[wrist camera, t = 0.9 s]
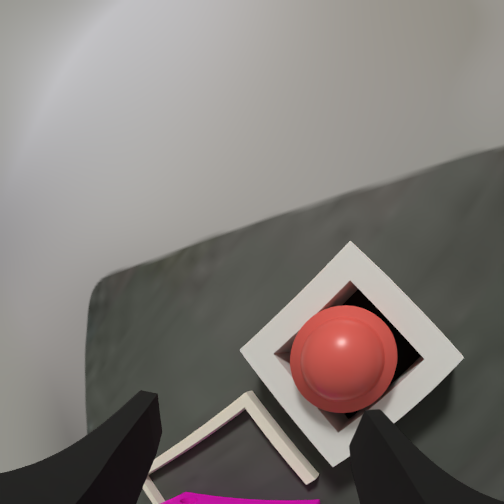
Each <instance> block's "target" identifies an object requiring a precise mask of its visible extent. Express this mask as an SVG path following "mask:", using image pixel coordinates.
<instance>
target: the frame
mask: <svg viewBox="0 0 504 504" xmlns="http://www.w3.org/2000/svg"><path fill="white" fill-rule="evenodd" d="M245 409H246V410H247V412H248V413H249V414H250V416H251V417H252V418H253V420H254V421H255V422H256V424H257V425H258V426H259V427H260V429H261V430H262V431H263V433H264V434H265V435H266V437H267V438H268V439H269V440H270V442H271V443H272V444H273V445H274V447H275V448H276V449H277V450H278V452H279V453H280V454H281V455H282V457H283V458H284V459H285V460H286V462H287V463H288V464H289V465H290V466H291V468H292V469H293V470H294V471H295V472H296V473H297V475H298V476H299V477H300V478H301V479H302V481H303V482H304V483H305V484H306V485H307V484H309V483H310V482H312V481H314V480H315V479H316V478H317V477H318V476H319V473H318V472H317V471H316V470H315V469H314V467H313V466H312V465H311V464H310V463H309V461H308V460H307V459H306V458H305V457H304V456H303V454H302V453H301V452H300V451H299V450H298V448H297V447H296V446H295V445H294V443H293V442H292V441H291V440H290V439H289V437H288V436H287V435H286V434H285V432H284V431H283V430H282V429H281V427H280V426H279V425H278V424H277V422H276V421H275V420H274V418H273V417H272V416H271V415H270V413H269V412H268V411H267V409H266V408H265V407H264V406H263V404H262V403H261V402H260V400H259V399H258V398H257V396H256V395H255V394H254V392H253V391H249V392H245V393H244V394H243V395H242V396H241V397H239V398H238V399H237V400H235V401H234V402H233V403H232V404H230V405H229V406H228V407H227V408H225V409H224V410H223V411H221V412H220V413H219V414H218V415H216V416H215V417H214V418H212V419H211V420H210V421H208V422H207V423H206V424H204V425H203V426H202V427H200V428H199V429H197V430H196V431H195V432H193V433H192V434H191V435H189V436H188V437H186V438H185V439H183V440H182V441H181V442H179V443H178V444H176V445H175V446H173V447H172V448H171V449H169V450H168V451H166V452H165V453H163V454H162V455H160V456H159V457H157V458H156V459H154V461H153V464H152V466H151V468H150V471H149V473H148V476H147V478H146V481H145V483H144V485H143V489H144V491H145V493H146V494H147V496H148V497H149V499H150V500H151V502H152V503H153V504H161V503H163V502H165V500H164V498H163V497H162V495H161V494H160V492H159V491H158V489H157V488H156V486H155V485H154V483H153V482H152V480H151V479H150V477H149V474H151V473H153V472H154V471H156V470H158V469H159V468H161V467H163V466H164V465H166V464H167V463H169V462H171V461H172V460H174V459H175V458H177V457H178V456H180V455H182V454H183V453H185V452H186V451H188V450H189V449H191V448H192V447H194V446H195V445H197V444H198V443H200V442H201V441H203V440H204V439H205V438H207V437H208V436H210V435H211V434H213V433H214V432H215V431H217V430H218V429H220V428H221V427H222V426H224V425H225V424H227V423H228V422H229V421H231V420H232V419H233V418H235V417H236V416H237V415H239V414H240V413H241V412H243V411H244V410H245Z"/></svg>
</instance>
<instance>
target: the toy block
mask: <svg viewBox="0 0 504 504" xmlns="http://www.w3.org/2000/svg"><path fill="white" fill-rule="evenodd" d="M161 504H320V500H254V499H239V498H228V497H219V496H211V495H203V494H196V493H190V492H185V493H182V494H180V495H178V496H176V497H174V498H172V499H170V500H167V501H165V502H163V503H161Z"/></svg>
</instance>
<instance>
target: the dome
mask: <svg viewBox="0 0 504 504" xmlns="http://www.w3.org/2000/svg"><path fill="white" fill-rule="evenodd" d="M397 359H398V350H397V344H396V340H395V338H394V335H393V333H392V331H391V330H390V328H389V327H388V326H387V324H386V323H385V322H384V321H383V320H382V319H380V318H379V317H378V316H376V315H375V314H373V313H372V312H370V311H368V310H366V309H363V308H360V307H356V306H348V305H342V306H335V307H330V308H327V309H325V310H323V311H320V312H318V313H317V314H315V315H314V316H312V317H311V318H310V319H309V320H308V321H307V322H306V323H305V324H304V325H303V326H302V327H301V329H300V330H299V332H298V334H297V335H296V337H295V340H294V342H293V345H292V349H291V354H290V369H291V374H292V378H293V380H294V383H295V385H296V387H297V389H298V390H299V392H300V393H301V394H302V395H303V397H304V398H305V399H306V400H308V401H309V402H310V403H311V404H313V405H314V406H316V407H318V408H320V409H322V410H325V411H329V412H334V413H349V412H354V411H358V410H360V409H363V408H365V407H367V406H369V405H371V404H372V403H373V402H375V401H376V400H377V399H378V398H379V397H380V396H382V394H383V393H384V392H385V391H386V389H387V388H388V386H389V385H390V383H391V381H392V378H393V376H394V373H395V369H396V365H397Z"/></svg>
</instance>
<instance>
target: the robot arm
mask: <svg viewBox="0 0 504 504" xmlns="http://www.w3.org/2000/svg"><path fill="white" fill-rule="evenodd" d="M161 434H162V427H161V419H160V411H159V403H158V394H156V393H151V392H146V391H142V390H141V391H139V392H138V393H137V394H136V395H135V396H134V397H133V398H131V399H130V400H129V401H128V402H127V403H126V404H125V405H124V406H123V407H122V408H120V409H119V410H118V411H117V412H116V413H115V414H113V415H112V416H111V417H110V418H109V419H107V420H106V421H105V422H104V423H103V424H101V425H100V426H99V427H97V428H96V429H95V430H93V431H92V432H91V433H89V434H88V435H86V436H85V437H84V438H82V439H81V440H79V441H77V442H76V443H74V444H73V445H71V446H69V447H68V448H66V449H64V450H62V451H61V452H59V453H57V454H55V455H52V456H50V457H49V458H46V459H44V460H42V461H39V462H37V463H35V464H32V465H29V466H25V467H22V468H19V469H16V470H12V471H9V472H4V473H0V504H136V503H137V500H138V497H139V495H140V493H141V490H142V488H143V485H144V483H145V481H146V478H147V476H148V473H149V471H150V468H151V466H152V464H153V461H154V459H155V456H156V453H157V450H158V446H159V442H160V438H161ZM349 450H350V460H351V468H352V473H353V477H354V481H355V485H356V489H357V492H358V496H359V500H360V504H504V502H503V501H499V500H497V499H494V498H491V497H489V496H486V495H484V494H482V493H480V492H478V491H476V490H474V489H472V488H470V487H468V486H466V485H465V484H463V483H461V482H460V481H458V480H456V479H455V478H453V477H452V476H451V475H449V474H448V473H446V472H445V471H444V470H442V469H441V468H440V467H438V466H437V465H436V464H435V463H433V462H432V461H431V460H430V459H429V458H428V457H427V456H425V455H424V454H423V453H422V452H421V451H420V450H419V449H418V448H417V447H416V446H415V445H414V444H413V443H412V442H411V441H410V440H409V439H408V438H407V437H406V436H405V435H404V434H403V433H402V432H401V431H400V430H399V429H398V428H397V427H396V426H395V424H394V423H393V422H392V421H391V420H390V419H389V418H388V417H387V416H386V415H385V414H384V413H383V412H382V411H381V410H380V409H374V410H364V413H363V415H362V418H361V420H360V422H359V425H358V427H357V429H356V432H355V434H354V436H353V438H352V440H351V443H350V445H349Z"/></svg>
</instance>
